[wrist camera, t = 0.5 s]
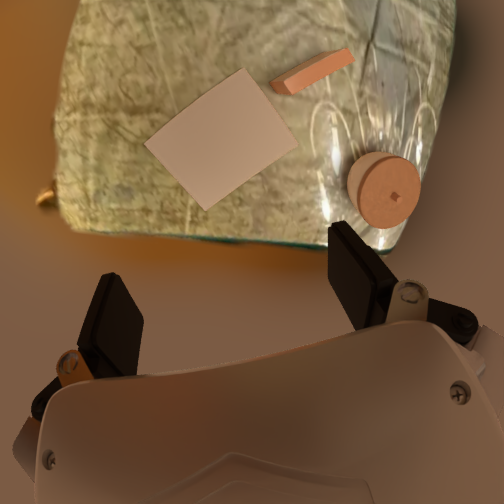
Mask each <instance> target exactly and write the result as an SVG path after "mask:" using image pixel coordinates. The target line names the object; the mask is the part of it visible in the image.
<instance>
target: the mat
mask: <svg viewBox="0 0 504 504" xmlns="http://www.w3.org/2000/svg"><path fill="white" fill-rule="evenodd" d="M144 145H145V146H146V147H147V148H148V149H149V150H150V151H151V152H152V154H153V155H154V156H155V157H156V158H157V159H158V160H159V161H160V162H161V163H162V165H163V166H164V167H165V168H166V169H167V170H168V171H169V172H170V173H171V174H172V175H173V177H174V178H175V179H176V180H177V181H178V182H179V183H180V184H181V185H182V186H183V187H184V189H185V190H186V191H187V192H188V193H189V194H190V195H191V196H192V197H193V198H194V199H195V200H196V202H197V203H198V204H199V205H200V206H201V207H202V208H203V209H204V210H205V211H206V210H208V209H209V208H210V207H212V206H213V205H214V204H216V203H217V202H218V201H220V200H221V199H222V198H224V197H225V196H226V195H228V194H229V193H230V192H232V191H233V190H235V189H236V188H237V187H239V186H240V185H242V184H243V183H244V182H246V181H247V180H249V179H250V178H251V177H253V176H254V175H256V174H257V173H258V172H260V171H261V170H263V169H264V168H266V167H267V166H269V165H270V164H271V163H273V162H274V161H276V160H277V159H279V158H280V157H282V156H283V155H285V154H286V153H288V152H289V151H291V150H292V149H294V148H295V147H297V146H298V145H299V144H298V142H297V141H296V139H295V138H294V136H293V135H292V133H291V132H290V130H289V129H288V127H287V126H286V124H285V123H284V121H283V120H282V118H281V117H280V116H279V114H278V113H277V111H276V110H275V108H274V107H273V106H272V104H271V103H270V101H269V100H268V99H267V97H266V96H265V94H264V93H263V92H262V90H261V89H260V88H259V86H258V85H257V84H256V82H255V81H254V80H253V78H252V77H251V76H250V75H249V73H248V72H247V71H246V69H245V68H244V67H243V68H242V69H240V70H239V71H237V72H235V73H234V74H232V75H231V76H229V77H228V78H226V79H225V80H223V81H222V82H220V83H219V84H218V85H216V86H215V87H213V88H212V89H211V90H209V91H208V92H206V93H205V94H204V95H202V96H201V97H200V98H198V99H197V100H196V101H194V102H193V103H192V104H190V105H189V106H188V107H186V108H185V109H184V110H183V111H181V112H180V113H179V114H178V115H176V116H175V117H174V118H173V119H172V120H170V121H169V122H168V123H167V124H166V125H164V126H163V127H162V128H161V129H160V130H159V131H158V132H156V133H155V134H154V135H153V136H152V137H151V138H150V139H149V140H147V141H146V142H145V143H144Z"/></svg>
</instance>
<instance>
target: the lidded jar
mask: <svg viewBox="0 0 504 504" xmlns="http://www.w3.org/2000/svg"><path fill="white" fill-rule="evenodd" d="M420 186H421V184H420V177H419V174H418V172H417V169H416V168H415V166H414V165H413V164H412V163H411V162H409V161H408V160H406V159H404V158H402V157H399V156H396V155H394V154H391V153H387V152H379V151H378V152H371V153H367V154H365V155H363V156H362V157H360V158H359V159H358V160H357V161H356V162H355V163H354V164H353V166H352V167H351V169H350V171H349V175H348V179H347V189H348V194H349V198H350V200H351V202H352V204H353V205H354V207H355V208H356V210H357V211H358V212H359V213H360V214H361V216H362V217H363V218H364V220H365V221H366V222H367V223H368V224H370V225H371V226H373V227H375V228H379V229H387V228H391V227H394V226H397V225H398V224H400V223H402V222H403V221H404V220H405V219H406V218H407V217H408V216H409V215H410V214H411V213H412V211H413V210H414V208H415V206H416V204H417V201H418V199H419V195H420Z"/></svg>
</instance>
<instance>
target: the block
mask: <svg viewBox="0 0 504 504" xmlns="http://www.w3.org/2000/svg"><path fill="white" fill-rule="evenodd" d="M354 61H355V59H354V58H353V56H352V54H351V53H350V51H349V49H348V48H343V49H338V50H333V51H328V52H323V53H321V54H319V55H317V56H315V57H313V58H311V59H309V60H307V61H306V62H304V63H302V64H300V65H298V66H296V67H295V68H293V69H291V70H289V71H288V72H286V73H284V74H282V75H281V76H279V77H277V78H276V79H274V80H272V81H271V82H270V85H271V86H272V88H273V89H274V90H275V92H276V93H277V94H286V95H294V94H295V93H297V92H299V91H300V90H302V89H304V88H306V87H307V86H309V85H311V84H312V83H314V82H316V81H318V80H320V79H321V78H323V77H325V76H327V75H329V74H331V73H332V72H334V71H336V70H338V69H340V68H342V67H344V66H346V65H348V64H350V63H352V62H354Z"/></svg>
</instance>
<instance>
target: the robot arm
mask: <svg viewBox="0 0 504 504" xmlns="http://www.w3.org/2000/svg"><path fill="white" fill-rule="evenodd" d="M328 279H329V282H330V284H331V286H332V288H333V290H334V291H335V293H336V295H337V297H338V299H339V301H340V302H341V304H342V306H343V308H344V310H345V311H346V314H347V315H348V317H349V319H350V321H351V323H352V325H353V327H354V329H355V330H356V331H354V332H351V333H347V334H344V335H341V336H337V337H334V338H330V339H326V340H323V341H319V342H316V343H312V344H308V345H304V346H301V347H297V348H293V349H289V350H285V351H280V352H276V353H272V354H267V355H263V356H258V357H254V358H249V359H244V360H239V361H234V362H229V363H223V364H217V365H212V366H206V367H199V368H193V369H186V370H179V371H172V372H164V373H155V374H145V375H137V366H138V358H139V351H140V344H141V337H142V331H143V324H144V320H143V316H142V314H141V312H140V311H139V309H138V307H137V306H136V304H135V302H134V300H133V299H132V297H131V295H130V294H129V292H128V290H127V288H126V286H125V285H124V283H123V281H122V279H121V277H120V276H119V275H116V274H115V273H114V272H112V273H108V274H104V275H102V276H101V279H100V281H99V283H98V286H97V288H96V291H95V293H94V296H93V298H92V301H91V304H90V306H89V309H88V312H87V315H86V318H85V320H84V323H83V326H82V329H81V332H80V335H79V338H78V342H77V345H78V346H79V348H78V351H77V350H69V351H67V352H65V353H64V354H63V355H62V356H61V357H60V358H59V360H58V362H57V365H56V372H57V375H58V376H57V377H56V378H55V379H54V380H53V381H52V382H51V383H50V384H49V385H48V386H47V387H45V388H44V389H43V390H42V391H41V392H40V393H39V394H38V395H37V396H36V397H35V399H34V400H33V403H32V406H31V412H32V417H30V416H29V417H28V418H27V420H26V422H25V424H24V425H23V427H22V429H21V430H20V432H19V434H18V436H17V437H16V439H15V441H14V443H13V449H12V450H13V455H14V457H15V459H16V460H17V461H18V463H19V464H20V465H21V467H22V468H23V469H24V471H25V472H26V473H27V474H28V476H29V477H30V478H31V479H32V481H33V482H34V483H35V504H504V434H503V431H502V428H501V426H500V423H499V421H498V417H499V414H500V412H501V409H502V407H503V405H504V337H503V336H501V335H499V334H498V333H496V332H495V331H493V330H491V329H490V328H488V327H487V326H485V325H483V326H482V327H481V326H479V325H478V320H477V318H476V316H475V315H474V314H473V313H472V312H471V311H469V310H467V309H465V308H462V307H458V306H455V305H452V304H448V303H445V302H442V301H438V300H434V299H431V298H429V294H428V290H427V288H426V287H425V286H424V285H423V284H421V283H420V282H418V281H415V280H410V279H407V280H402V281H398V280H397V278H396V277H395V276H394V275H393V274H392V272H391V271H390V270H389V268H388V267H387V266H386V265H385V264H384V262H383V261H382V260H381V259H380V257H379V256H378V255H377V254H376V253H375V252H374V250H373V249H372V248H371V247H370V246H368V245H366V244H365V242H364V241H363V240H362V239H361V238H360V237H359V236H358V234H357V233H356V232H355V231H354V230H353V229H352V228H351V226H350V225H349V224H348V223H347V222H346V221H344V220H343V221H339V222H334V223H332V225H331V227H328Z"/></svg>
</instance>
